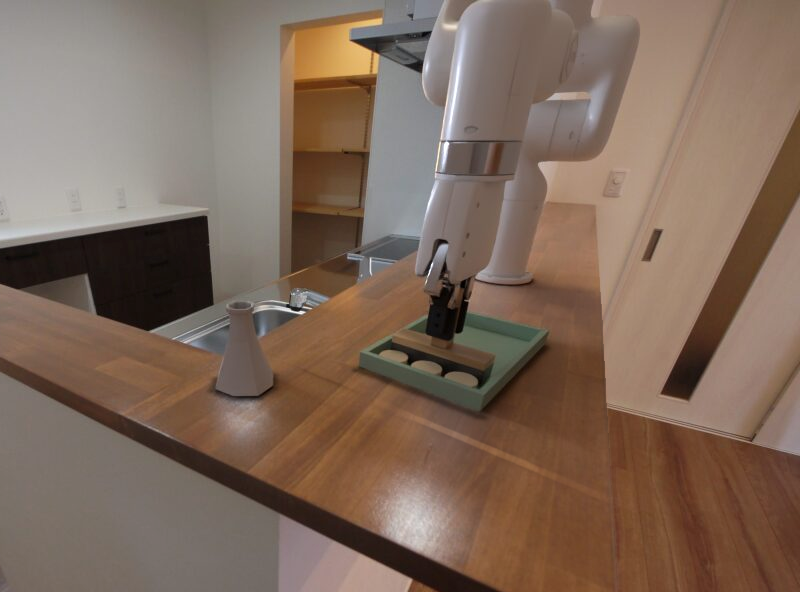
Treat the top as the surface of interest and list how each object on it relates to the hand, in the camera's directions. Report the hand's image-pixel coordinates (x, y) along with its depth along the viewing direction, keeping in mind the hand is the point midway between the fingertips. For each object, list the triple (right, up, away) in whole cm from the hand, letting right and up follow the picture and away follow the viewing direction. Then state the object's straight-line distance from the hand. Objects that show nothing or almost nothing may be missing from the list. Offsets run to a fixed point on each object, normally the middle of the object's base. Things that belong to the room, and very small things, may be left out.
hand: (443, 332), depth 51 cm
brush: (0, -4, +2) cm, 5 cm away
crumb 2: (-2, -5, 0) cm, 6 cm away
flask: (-24, -6, +1) cm, 25 cm away
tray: (+4, -3, +6) cm, 8 cm away
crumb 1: (-6, -4, +3) cm, 7 cm away
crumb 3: (+1, -7, -2) cm, 7 cm away
